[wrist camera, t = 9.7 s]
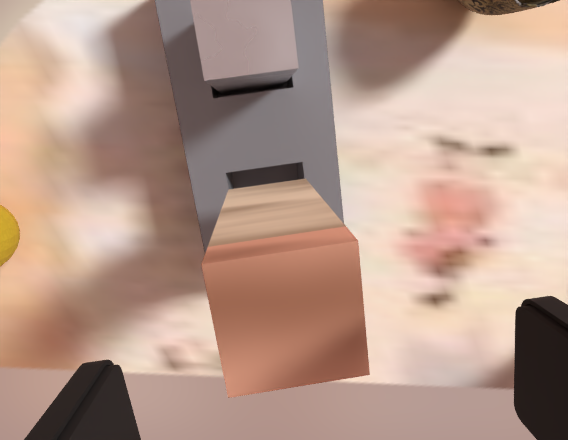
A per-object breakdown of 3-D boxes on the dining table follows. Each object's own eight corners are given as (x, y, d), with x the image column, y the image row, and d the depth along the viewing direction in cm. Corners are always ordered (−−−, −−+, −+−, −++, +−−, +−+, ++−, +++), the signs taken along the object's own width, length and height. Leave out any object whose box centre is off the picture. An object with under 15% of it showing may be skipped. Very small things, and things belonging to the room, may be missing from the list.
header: (334, 245, 33) (348, 267, 28) (218, 263, 33) (211, 288, 28) (305, -31, 28) (316, -62, 23) (165, -14, 27) (146, -42, 22)
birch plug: (314, 251, 23) (369, 374, 12) (241, 262, 23) (228, 397, 12) (305, 178, 22) (358, 240, 11) (228, 189, 22) (201, 264, 11)
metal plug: (281, 87, 29) (298, 68, 18) (223, 94, 29) (204, 80, 18) (273, 23, 28) (286, -39, 17) (212, 31, 28) (185, -27, 17)
